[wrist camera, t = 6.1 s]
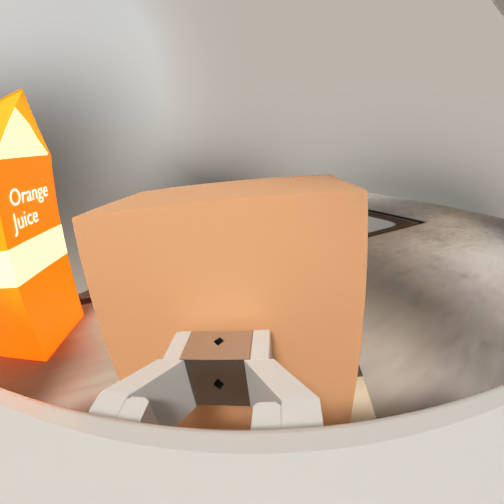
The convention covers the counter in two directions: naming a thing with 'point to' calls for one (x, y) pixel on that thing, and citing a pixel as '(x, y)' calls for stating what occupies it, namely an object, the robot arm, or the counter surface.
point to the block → (235, 278)
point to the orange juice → (31, 242)
